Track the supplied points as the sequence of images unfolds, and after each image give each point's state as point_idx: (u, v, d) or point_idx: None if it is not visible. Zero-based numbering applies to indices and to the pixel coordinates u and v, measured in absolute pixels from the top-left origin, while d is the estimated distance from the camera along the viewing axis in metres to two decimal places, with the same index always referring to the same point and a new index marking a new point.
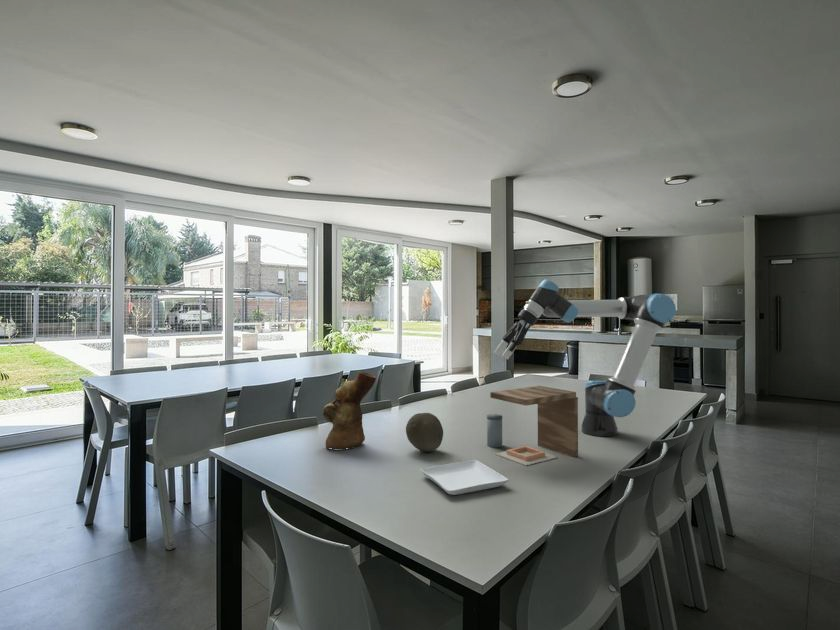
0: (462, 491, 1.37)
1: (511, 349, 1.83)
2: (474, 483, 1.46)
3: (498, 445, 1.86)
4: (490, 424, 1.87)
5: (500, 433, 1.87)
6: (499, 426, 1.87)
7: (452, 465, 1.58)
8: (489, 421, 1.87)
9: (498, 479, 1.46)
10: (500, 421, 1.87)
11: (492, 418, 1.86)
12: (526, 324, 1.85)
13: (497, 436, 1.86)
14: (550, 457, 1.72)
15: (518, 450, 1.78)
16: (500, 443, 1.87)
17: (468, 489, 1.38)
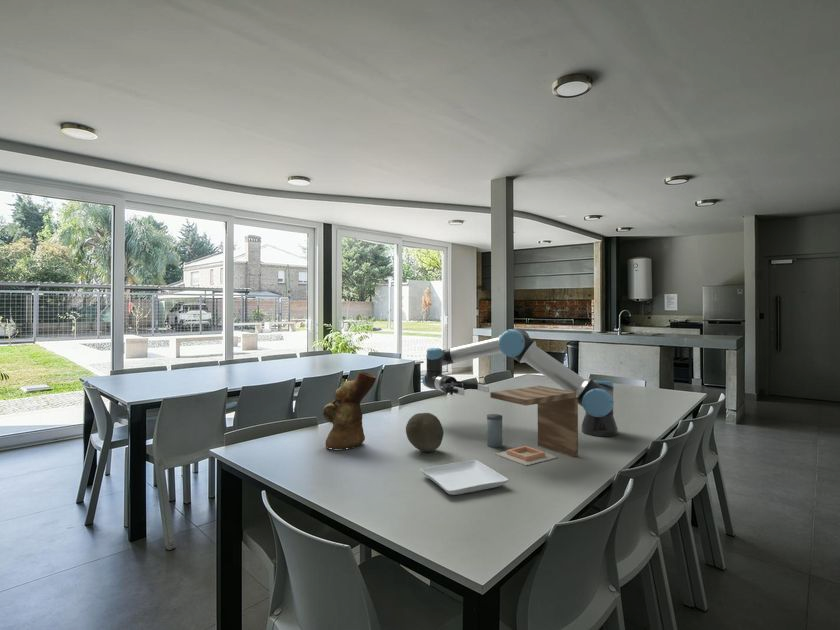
0: (462, 491, 1.37)
1: (455, 391, 1.97)
2: (474, 483, 1.46)
3: (498, 445, 1.86)
4: (490, 424, 1.87)
5: (500, 433, 1.87)
6: (500, 426, 1.87)
7: (452, 465, 1.58)
8: (489, 421, 1.87)
9: (498, 479, 1.46)
10: (500, 421, 1.87)
11: (492, 418, 1.86)
12: (441, 388, 2.08)
13: (497, 436, 1.86)
14: (550, 457, 1.72)
15: (518, 450, 1.78)
16: (500, 443, 1.87)
17: (468, 489, 1.38)
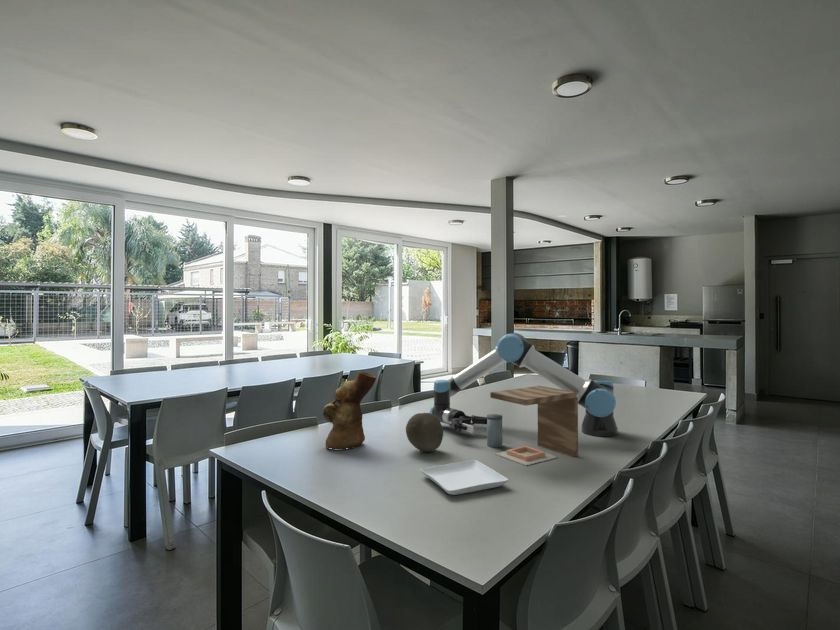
0: (462, 491, 1.37)
1: (463, 428, 1.92)
2: (474, 483, 1.46)
3: (498, 445, 1.86)
4: (490, 424, 1.87)
5: (500, 433, 1.87)
6: (500, 426, 1.87)
7: (452, 465, 1.58)
8: (489, 421, 1.87)
9: (498, 479, 1.46)
10: (500, 421, 1.87)
11: (492, 418, 1.86)
12: (449, 423, 2.02)
13: (497, 436, 1.86)
14: (550, 457, 1.72)
15: (518, 450, 1.78)
16: (500, 443, 1.87)
17: (468, 489, 1.38)
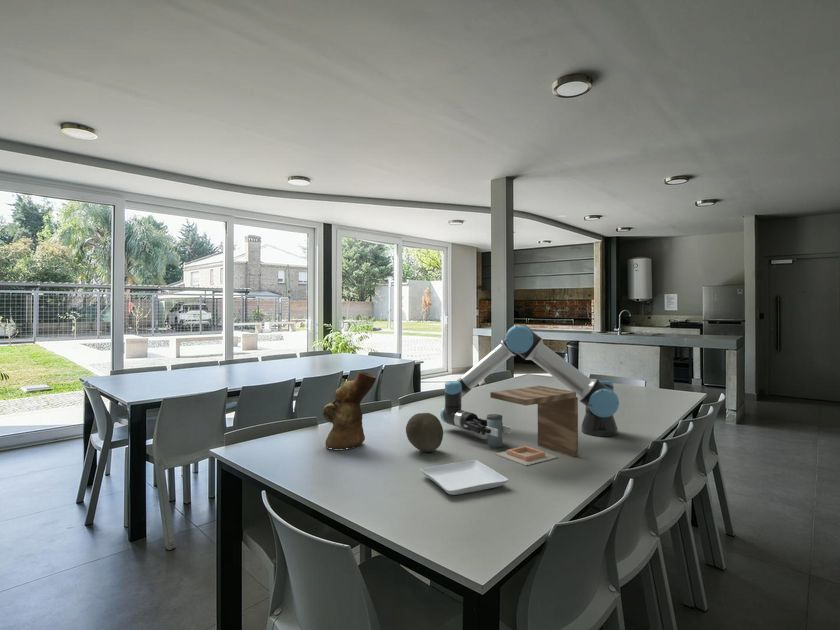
0: (462, 491, 1.37)
1: (487, 431, 1.85)
2: (474, 483, 1.46)
3: (498, 445, 1.86)
4: (490, 424, 1.87)
5: (500, 433, 1.87)
6: (500, 426, 1.87)
7: (452, 465, 1.58)
8: (489, 421, 1.87)
9: (498, 479, 1.46)
10: (500, 421, 1.87)
11: (492, 418, 1.86)
12: (465, 427, 1.95)
13: (497, 436, 1.86)
14: (550, 457, 1.72)
15: (518, 450, 1.78)
16: (500, 443, 1.87)
17: (468, 489, 1.38)
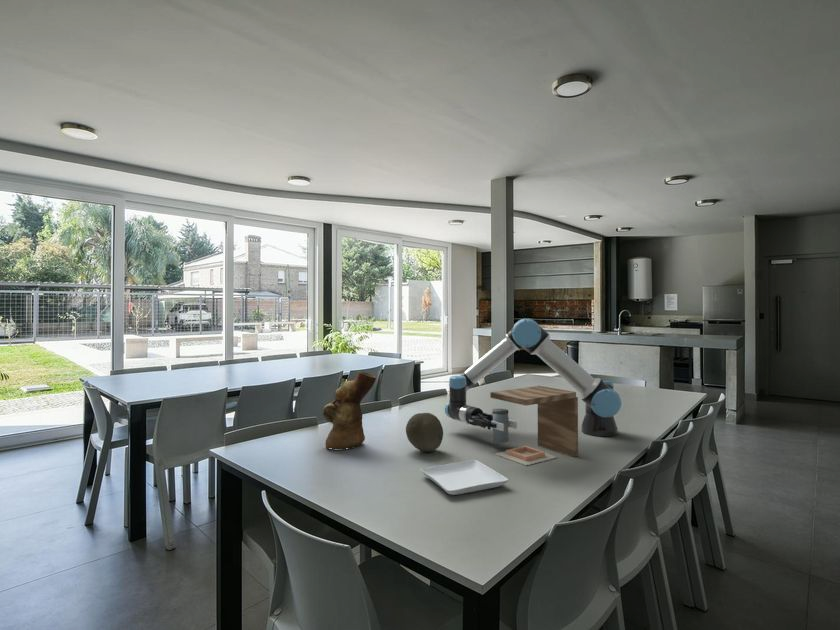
0: (462, 491, 1.37)
1: (493, 426, 1.82)
2: (474, 483, 1.46)
3: (504, 440, 1.83)
4: (496, 419, 1.83)
5: (506, 428, 1.83)
6: (505, 420, 1.83)
7: (452, 465, 1.58)
8: (495, 416, 1.83)
9: (498, 479, 1.46)
10: (506, 415, 1.83)
11: (498, 412, 1.82)
12: (470, 422, 1.91)
13: (503, 431, 1.82)
14: (550, 457, 1.72)
15: (518, 450, 1.78)
16: (506, 438, 1.83)
17: (468, 489, 1.38)
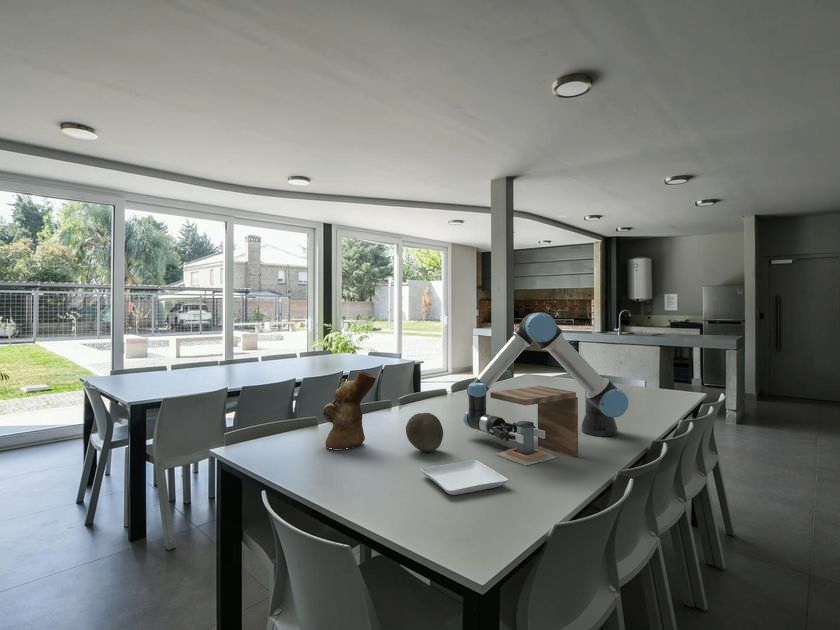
0: (462, 491, 1.37)
1: (512, 438, 1.71)
2: (474, 483, 1.46)
3: None
4: (521, 433, 1.73)
5: (532, 442, 1.73)
6: (531, 434, 1.72)
7: (452, 465, 1.58)
8: (520, 429, 1.73)
9: (498, 479, 1.46)
10: (532, 429, 1.73)
11: (523, 425, 1.72)
12: (490, 432, 1.81)
13: (528, 445, 1.72)
14: (550, 457, 1.72)
15: None
16: (532, 452, 1.73)
17: (468, 489, 1.38)
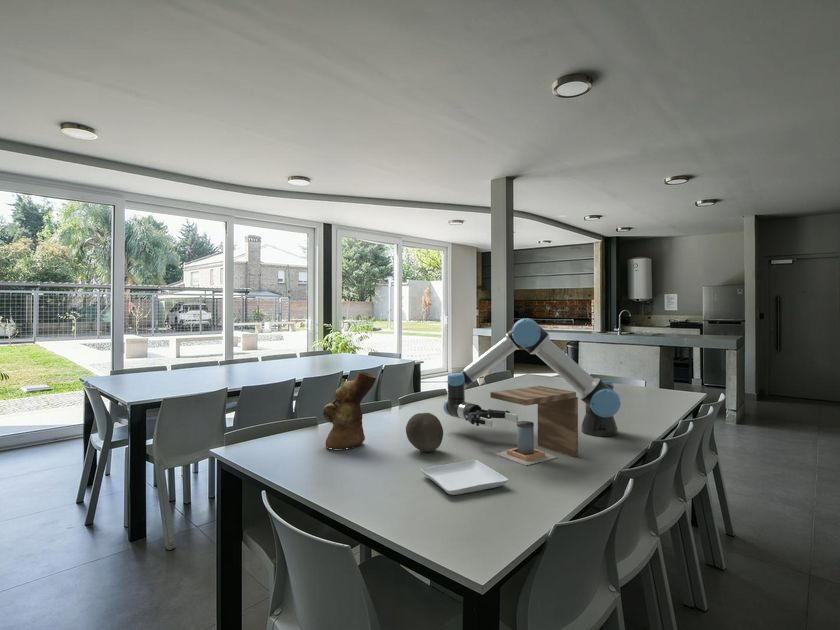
0: (462, 491, 1.37)
1: (481, 422, 1.83)
2: (474, 483, 1.46)
3: None
4: (521, 433, 1.72)
5: (532, 442, 1.73)
6: (531, 434, 1.72)
7: (452, 465, 1.58)
8: (520, 429, 1.73)
9: (498, 479, 1.46)
10: (531, 429, 1.73)
11: (523, 426, 1.72)
12: (466, 417, 1.93)
13: (528, 445, 1.72)
14: (550, 457, 1.72)
15: None
16: (532, 452, 1.73)
17: (468, 489, 1.38)
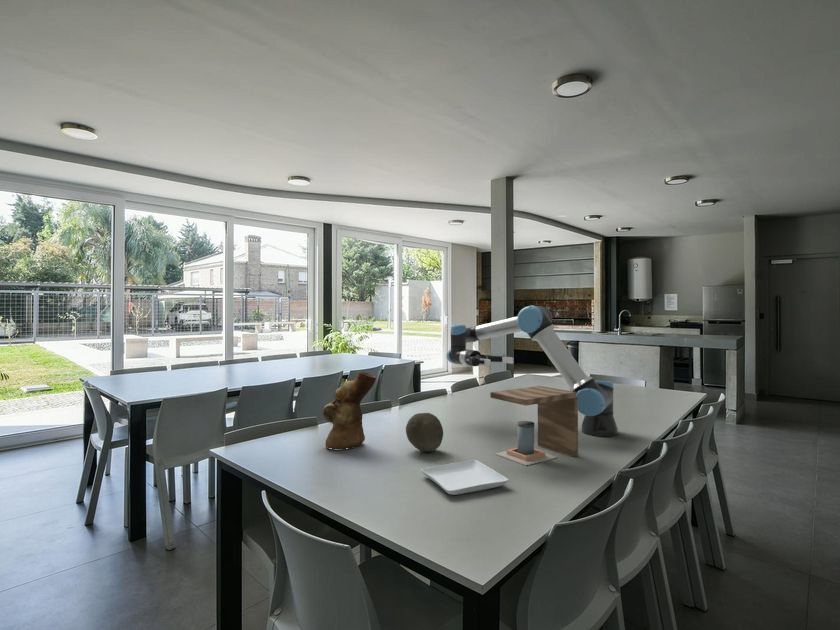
0: (462, 491, 1.37)
1: (481, 362, 2.04)
2: (474, 483, 1.46)
3: None
4: (521, 432, 1.73)
5: (532, 442, 1.73)
6: (531, 434, 1.72)
7: (452, 465, 1.58)
8: (520, 429, 1.73)
9: (498, 479, 1.46)
10: (532, 429, 1.73)
11: (523, 425, 1.72)
12: (467, 360, 2.15)
13: (528, 445, 1.72)
14: (550, 457, 1.72)
15: None
16: (532, 452, 1.73)
17: (468, 489, 1.38)
